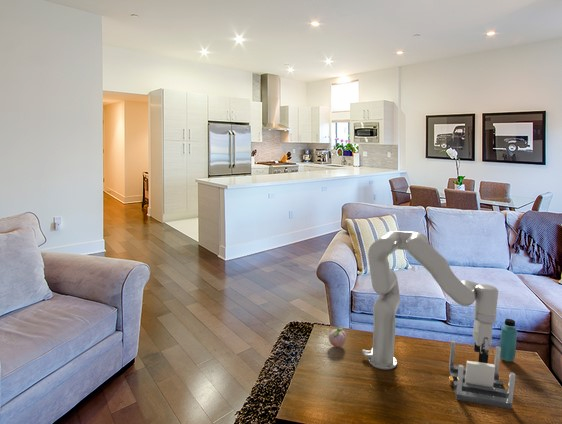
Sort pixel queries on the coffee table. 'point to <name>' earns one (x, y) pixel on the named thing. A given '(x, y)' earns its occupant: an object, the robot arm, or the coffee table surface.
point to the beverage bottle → (508, 340)
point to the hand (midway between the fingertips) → (480, 356)
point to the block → (480, 373)
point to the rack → (477, 393)
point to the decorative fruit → (337, 337)
